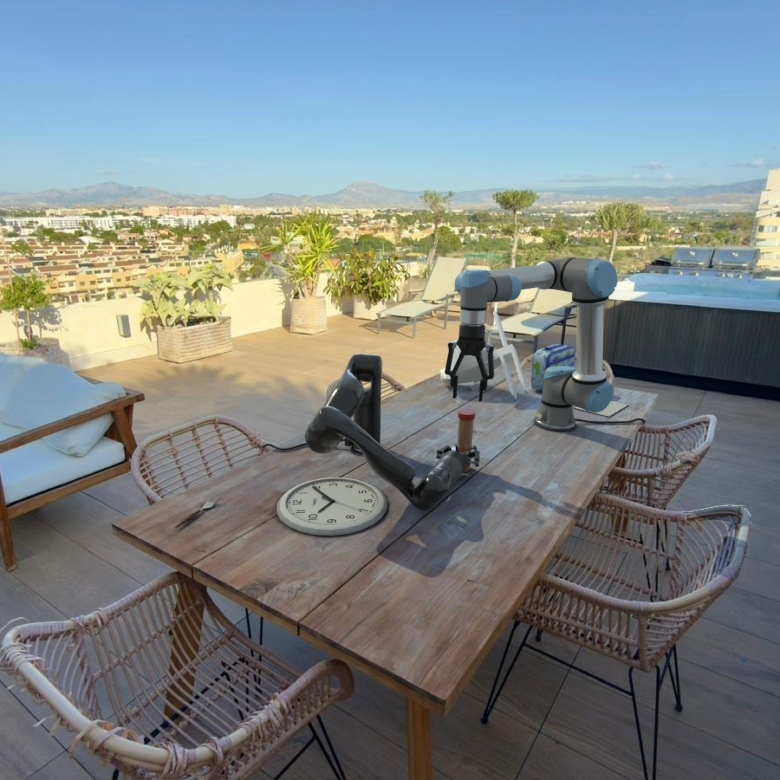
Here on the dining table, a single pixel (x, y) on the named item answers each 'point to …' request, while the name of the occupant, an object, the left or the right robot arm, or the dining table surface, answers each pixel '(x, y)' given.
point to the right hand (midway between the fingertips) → (467, 398)
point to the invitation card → (609, 408)
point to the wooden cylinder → (465, 437)
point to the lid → (466, 414)
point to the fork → (206, 505)
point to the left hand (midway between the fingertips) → (467, 446)
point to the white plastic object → (470, 366)
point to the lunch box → (550, 362)
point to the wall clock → (331, 506)
